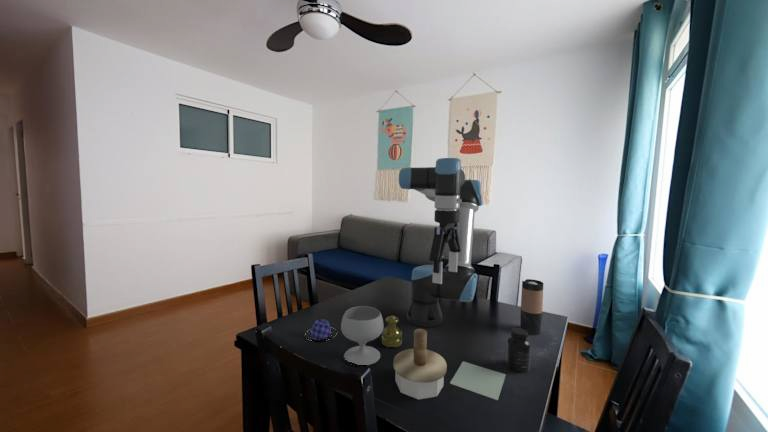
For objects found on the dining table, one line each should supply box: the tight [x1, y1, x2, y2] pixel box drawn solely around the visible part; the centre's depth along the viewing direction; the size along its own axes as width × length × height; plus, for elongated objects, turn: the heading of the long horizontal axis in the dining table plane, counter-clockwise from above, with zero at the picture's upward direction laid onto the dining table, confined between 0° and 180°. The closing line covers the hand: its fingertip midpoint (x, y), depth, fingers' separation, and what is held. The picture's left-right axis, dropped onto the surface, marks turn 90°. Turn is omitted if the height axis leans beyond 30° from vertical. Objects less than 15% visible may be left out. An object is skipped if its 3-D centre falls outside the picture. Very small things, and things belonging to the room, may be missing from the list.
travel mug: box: [519, 278, 544, 336], centre depth 117 cm, size 8×8×20 cm
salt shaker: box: [381, 315, 403, 348], centre depth 107 cm, size 7×7×10 cm
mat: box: [449, 361, 507, 401], centre depth 87 cm, size 13×13×1 cm
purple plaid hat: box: [304, 318, 338, 342], centre depth 113 cm, size 12×12×5 cm
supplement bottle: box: [505, 327, 532, 374], centre depth 93 cm, size 7×7×12 cm
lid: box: [392, 328, 448, 383], centre depth 84 cm, size 15×15×10 cm
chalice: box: [340, 305, 385, 366], centre depth 98 cm, size 14×14×15 cm
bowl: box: [394, 370, 445, 400], centre depth 84 cm, size 13×13×6 cm
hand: (445, 277), depth 93 cm, fingers open, 13 cm apart
